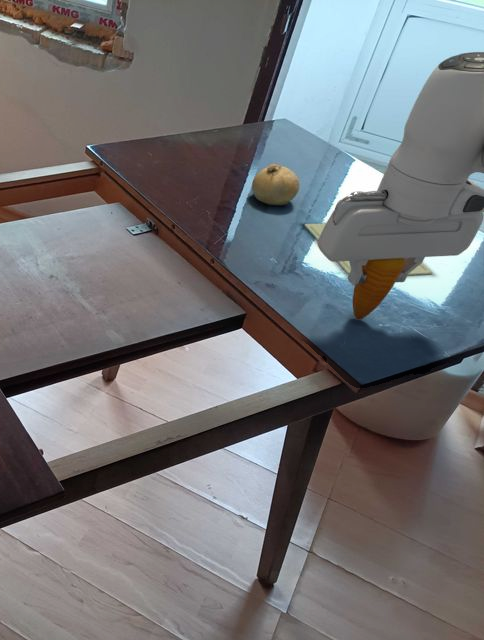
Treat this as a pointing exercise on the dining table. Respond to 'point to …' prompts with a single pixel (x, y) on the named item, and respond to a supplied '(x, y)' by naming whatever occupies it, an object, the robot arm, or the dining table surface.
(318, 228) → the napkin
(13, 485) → the dining table surface
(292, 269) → the dining table surface
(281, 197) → the onion
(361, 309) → the carrot
